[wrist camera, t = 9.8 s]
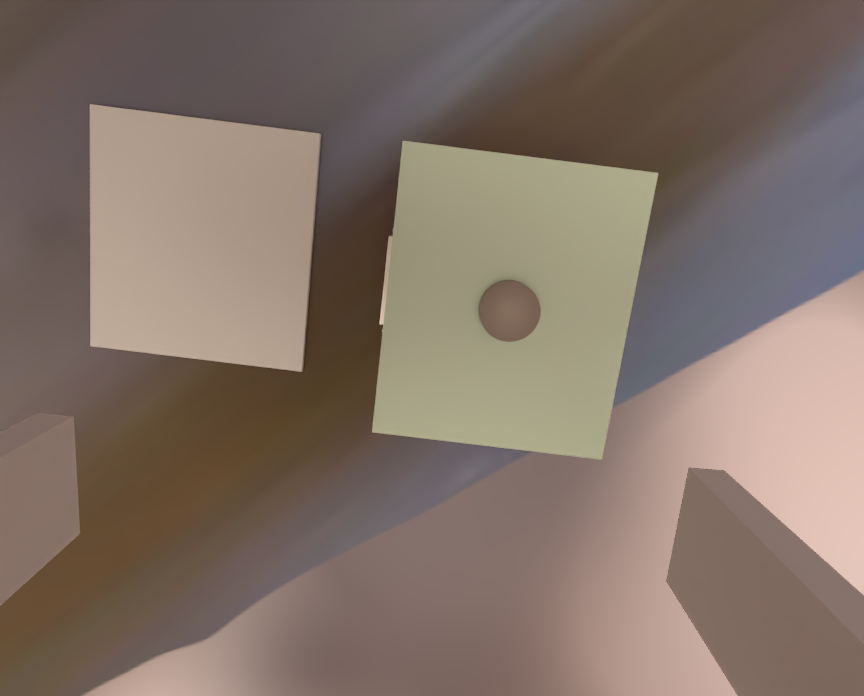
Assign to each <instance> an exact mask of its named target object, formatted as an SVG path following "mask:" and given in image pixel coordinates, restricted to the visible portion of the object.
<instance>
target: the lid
mask: <svg viewBox="0 0 864 696" xmlns="http://www.w3.org/2000/svg"><path fill="white" fill-rule="evenodd" d="M657 177H658V173H654V172H646V171H638V170H630V169H622V168H614V167H607V166H599V165H591V164H583V163H575V162H567V161H559V160H551V159H543V158H535V157H528V156H520V155H512V154H504V153H496V152H488V151H480V150H472V149H464V148H457V147H449V146H441V145H433V144H425V143H417V142H409V141H403V144H402V153H401V163H400V172H399V181H398V191H397V200H396V210H395V219H394V229H393V238H392V248H391V257H390V267H389V276H388V286H387V295H386V305H385V314H384V324H383V333H382V342H381V352H380V361H379V371H378V380H377V390H376V399H375V409H374V418H373V428H372V432H374V433H383V434H391V435H400V436H408V437H416V438H425V439H433V440H441V441H450V442H458V443H467V444H475V445H483V446H492V447H500V448H509V449H517V450H525V451H534V452H543V453H551V454H559V455H568V456H576V457H584V458H593V459H601V460H602V456H603V451H604V446H605V441H606V436H607V430H608V426H609V420H610V416H611V411H612V406H613V401H614V395H615V390H616V385H617V380H618V375H619V370H620V365H621V360H622V355H623V350H624V345H625V340H626V335H627V329H628V324H629V319H630V314H631V309H632V304H633V299H634V294H635V289H636V284H637V279H638V274H639V269H640V263H641V258H642V253H643V248H644V243H645V238H646V233H647V228H648V223H649V218H650V213H651V208H652V203H653V198H654V192H655V187H656V182H657Z"/></svg>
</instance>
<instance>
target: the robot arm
mask: <svg viewBox="0 0 864 696" xmlns="http://www.w3.org/2000/svg"><path fill="white" fill-rule="evenodd" d="M79 534H80V527H79V508H78V489H77V470H76V452H75V433H74V416H65V415H53V414H41V413H37V414H35V415H33V416H31V417H29V418H27V419H25V420H23V421H21V422H19V423H17V424H15V425H13V426H11V427H9V428H7V429H5V430H3V431H1V432H0V605H2V604H3V603H4V602H5V601H6V600H7V599H8V598H9V597H10V596H11V595H13V594H14V593H15V592H16V591H17V590H18V589H19V588H20V587H21V586H23V585H24V584H25V583H26V582H27V581H28V580H29V579H30V578H31V577H32V576H34V575H35V574H36V573H37V572H38V571H39V570H40V569H41V568H42V567H44V566H45V565H46V564H47V563H48V562H49V561H50V560H51V559H52V558H54V557H55V556H56V555H57V554H58V553H59V552H60V551H61V550H62V549H63V548H65V547H66V546H67V545H68V544H69V543H70V542H71V541H72V540H73V539H75V538H76V537H77V536H78V535H79ZM666 581H667V583H668V585H669V586H670V588H671V589H672V591H673V592H674V594H675V596H676V597H677V599H678V601H679V602H680V604H681V605H682V607H683V609H684V610H685V612H686V613H687V615H688V617H689V618H690V620H691V622H692V623H693V624H694V626H695V628H696V630H697V631H698V633H699V634H700V636H701V637H702V639H703V641H704V642H705V644H706V646H707V647H708V649H709V650H710V652H711V654H712V655H713V656H714V658H715V660H716V662H717V663H718V665H719V666H720V668H721V670H722V671H723V673H724V674H725V676H726V678H727V679H728V681H729V682H730V684H731V686H732V687H733V689H734V690H735V692H736V693H737V695H738V696H864V596H863V595H862V594H861V593H860V592H859V591H858V590H857V589H856V588H855V587H853V586H852V585H851V584H850V583H849V582H848V581H847V580H846V579H844V578H843V577H842V576H841V575H840V574H839V573H838V572H837V571H836V570H834V569H833V568H832V567H831V566H830V565H829V564H828V563H827V562H826V561H824V560H823V559H822V558H821V557H820V556H819V555H818V554H817V553H816V552H814V551H813V550H812V549H811V548H810V547H809V546H808V545H807V544H805V543H804V542H803V541H802V540H801V539H800V538H799V537H798V536H796V534H794V533H793V532H792V531H791V530H790V529H789V528H788V527H787V526H785V525H784V524H783V523H782V522H781V521H780V520H778V518H776V517H775V516H774V515H773V514H772V513H771V512H770V511H769V510H768V509H767V508H765V507H764V506H763V505H762V504H761V503H760V502H759V501H757V500H756V499H755V498H754V497H753V496H752V495H751V494H750V493H749V492H748V491H746V490H745V489H744V488H743V487H742V486H741V485H740V484H739V483H738V482H736V481H735V480H734V479H733V478H732V477H731V476H730V475H728V474H727V473H726V472H725V471H724V470H712V469H700V468H689V469H688V474H687V479H686V484H685V489H684V494H683V499H682V504H681V510H680V514H679V519H678V525H677V530H676V535H675V540H674V545H673V550H672V555H671V560H670V565H669V570H668V575H667V580H666Z"/></svg>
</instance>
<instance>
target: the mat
mask: <svg viewBox="0 0 864 696" xmlns="http://www.w3.org/2000/svg"><path fill="white" fill-rule="evenodd" d="M321 138H322V134H319V133H312V132H304V131H296V130H288V129H280V128H272V127H265V126H257V125H249V124H241V123H233V122H225V121H218V120H210V119H202V118H194V117H186V116H178V115H171V114H163V113H155V112H147V111H139V110H131V109H124V108H116V107H108V106H100V105H92V104H90V346H94V347H102V348H111V349H119V350H127V351H135V352H143V353H152V354H160V355H168V356H176V357H185V358H193V359H201V360H209V361H218V362H226V363H234V364H242V365H250V366H259V367H267V368H275V369H283V370H292V371H300V372H302V371H303V368H304V355H305V343H306V330H307V317H308V304H309V292H310V279H311V266H312V253H313V240H314V228H315V215H316V202H317V189H318V176H319V164H320V151H321Z"/></svg>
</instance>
